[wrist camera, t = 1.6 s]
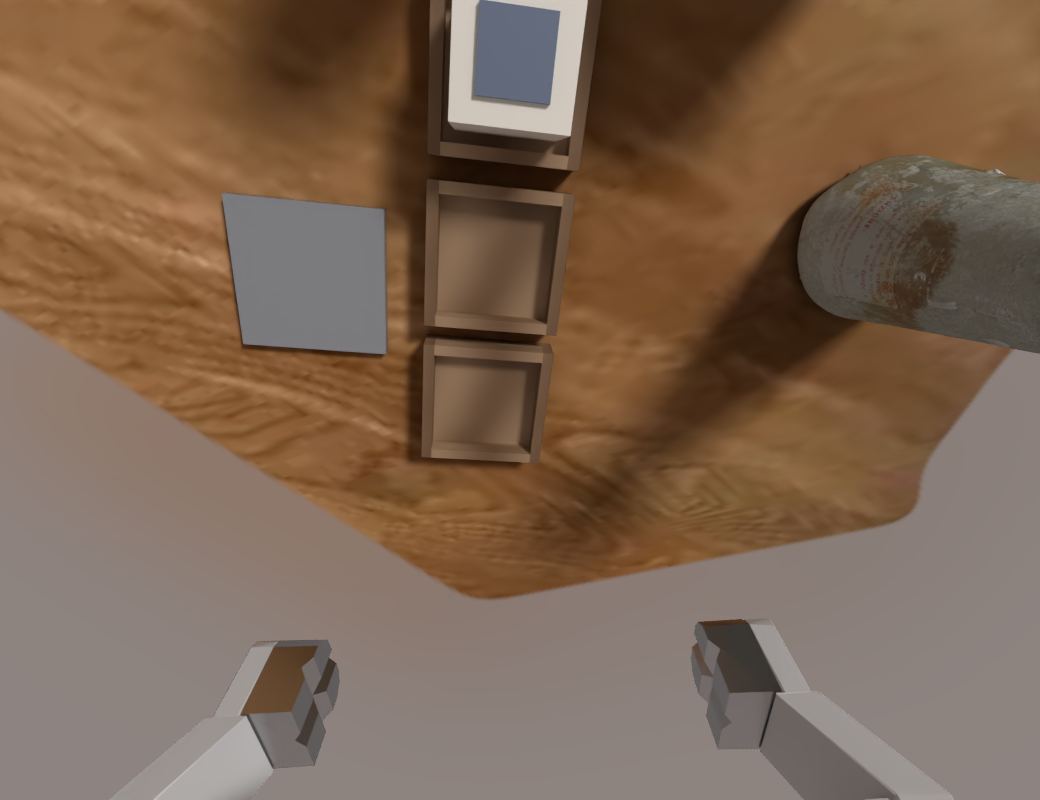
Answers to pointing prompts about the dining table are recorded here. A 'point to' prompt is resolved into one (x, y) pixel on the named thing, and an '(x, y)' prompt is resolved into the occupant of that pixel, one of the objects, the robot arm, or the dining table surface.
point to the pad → (309, 273)
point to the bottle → (928, 250)
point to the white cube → (515, 66)
